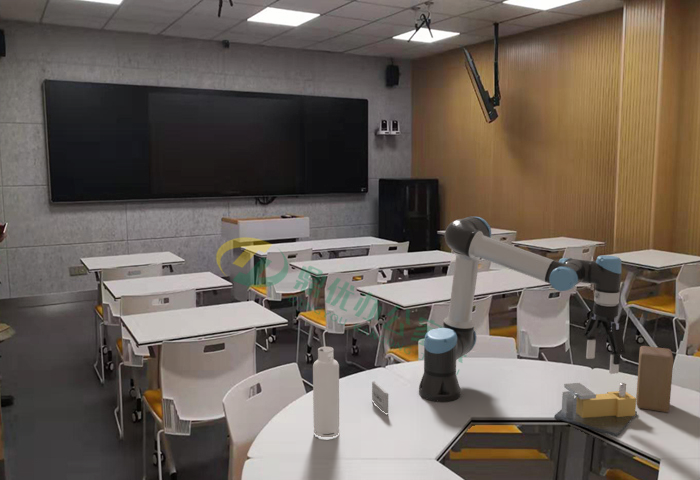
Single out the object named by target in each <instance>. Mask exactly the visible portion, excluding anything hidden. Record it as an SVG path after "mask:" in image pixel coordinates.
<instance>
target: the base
mask: <svg viewBox="0 0 700 480" xmlns="http://www.w3.org/2000/svg"><path fill="white" fill-rule="evenodd" d="M618 386H619V388H618V391H619V398H625V393H626V392H627V391H626V389H627V384H626V383H625V382H619V385H618ZM576 405H577V397H576V396H574V410H573V418H565V417H564V416H563V415H561V413H562V408H561V409H560V410H559V411H557V413H555V414H554V419H557V420H560V421H562V422H566V423H569V424H573V425H577V426H580V427H583V428H586V429H589V430H593V431H597V432H599V433H603V434H607V435H610V436H612V437H616V438H617V437H618V436H619V435H620V434H621V433H622V432H623V431H624V430H625V429H626V428H627V426H628V425H629V424H630V423H631V422H632V421H633V419H635V417H636V416H637V415H638V411H637V410H635V416H623V417H617V416H616V415H613V416H600V417H587V418H582V417H581V416H580V415H578V414H577V413H576ZM630 421H631V422H630Z"/></svg>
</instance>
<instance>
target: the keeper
mask: <svg viewBox="0 0 700 480" xmlns="http://www.w3.org/2000/svg"><path fill="white" fill-rule="evenodd" d="M563 387H564V388H565V389H566V390H567V391H562V393H561V395H562V396H561V397H562V398H561V409H562V413H561V415H563V416H564V417H565V418H573V410H574V398H575V397H578V398H579V399H592V398H596V393H594V392H593V391H592V390H590V389H589V388H587V387H586V386H585V385H583V384H582V383H580V382H573V383H572V382H571V383H570V382H569V383H564V384H563Z"/></svg>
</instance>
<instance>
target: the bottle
mask: <svg viewBox="0 0 700 480" xmlns="http://www.w3.org/2000/svg"><path fill="white" fill-rule="evenodd" d="M312 364H313V365H312V390H313V391H312V392H313V393H312V396H313V397H312V400H313V401H312V402H313V403H312V404H313V409H312V410H313V434H314V433H315V434H316V435H318V436H321V437H333V436H336V435H338V433H339V434H340V364H339V362H338V361H337V360H336V359H334V348H333V347H331V346H321V347H319V348H317V359H316V360H315V361H314V363H312ZM315 431H316V432H315Z"/></svg>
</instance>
